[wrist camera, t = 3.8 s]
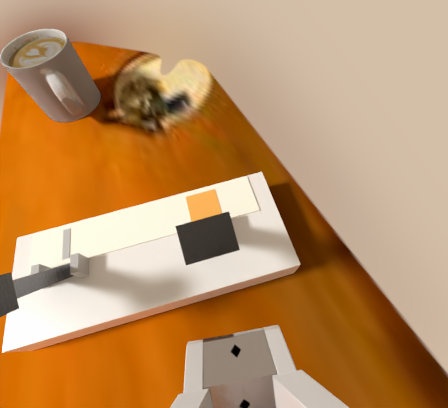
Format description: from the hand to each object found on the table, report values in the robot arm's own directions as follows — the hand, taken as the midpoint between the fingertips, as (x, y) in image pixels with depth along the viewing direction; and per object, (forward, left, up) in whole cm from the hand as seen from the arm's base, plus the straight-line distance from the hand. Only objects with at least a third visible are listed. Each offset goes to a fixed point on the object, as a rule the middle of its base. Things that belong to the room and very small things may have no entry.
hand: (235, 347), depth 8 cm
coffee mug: (+43, +18, -21) cm, 51 cm away
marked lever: (+11, 0, -16) cm, 19 cm away
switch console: (+11, +7, -21) cm, 24 cm away
